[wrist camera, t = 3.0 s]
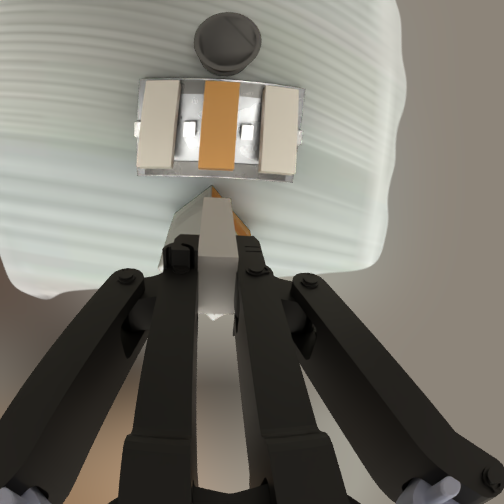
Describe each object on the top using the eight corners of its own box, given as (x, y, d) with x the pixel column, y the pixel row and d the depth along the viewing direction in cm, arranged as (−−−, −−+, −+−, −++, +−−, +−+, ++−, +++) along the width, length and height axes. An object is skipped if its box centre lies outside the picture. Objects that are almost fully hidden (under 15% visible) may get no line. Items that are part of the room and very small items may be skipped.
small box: (250, 230, 39) (265, 291, 28) (212, 256, 41) (212, 323, 30) (212, 182, 36) (210, 229, 24) (172, 213, 37) (155, 270, 26)
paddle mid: (205, 87, 28) (205, 80, 26) (238, 89, 28) (240, 82, 26) (198, 169, 29) (197, 167, 27) (232, 171, 30) (234, 169, 28)
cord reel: (202, 28, 26) (197, 10, 19) (253, 32, 27) (264, 15, 20) (197, 74, 29) (190, 69, 22) (248, 78, 30) (257, 73, 23)
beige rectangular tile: (262, 91, 29) (265, 85, 27) (293, 95, 29) (298, 89, 27) (258, 172, 30) (261, 170, 28) (290, 175, 31) (295, 173, 29)
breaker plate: (143, 79, 28) (135, 78, 25) (300, 88, 31) (309, 88, 28) (141, 171, 34) (133, 179, 31) (288, 178, 36) (295, 186, 33)
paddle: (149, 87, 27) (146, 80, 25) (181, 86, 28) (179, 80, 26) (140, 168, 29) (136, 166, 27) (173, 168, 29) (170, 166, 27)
